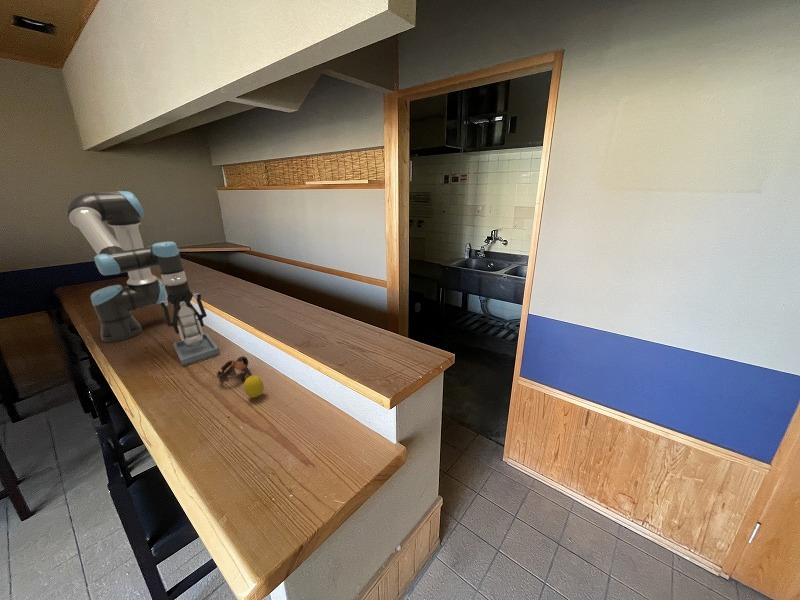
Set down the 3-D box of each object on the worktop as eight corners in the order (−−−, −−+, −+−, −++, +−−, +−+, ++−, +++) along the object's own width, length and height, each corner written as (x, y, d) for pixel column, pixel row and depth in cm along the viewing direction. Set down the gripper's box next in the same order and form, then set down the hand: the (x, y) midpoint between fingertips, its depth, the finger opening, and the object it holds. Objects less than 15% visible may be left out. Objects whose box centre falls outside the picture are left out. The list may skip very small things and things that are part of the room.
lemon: (247, 394, 103) (241, 373, 100) (265, 390, 105) (260, 369, 102) (246, 404, 98) (241, 383, 95) (266, 399, 100) (260, 378, 97)
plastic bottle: (182, 348, 130) (167, 302, 123) (197, 340, 136) (183, 296, 129) (193, 350, 128) (179, 303, 121) (208, 342, 134) (195, 297, 127)
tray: (174, 349, 136) (172, 343, 135) (208, 338, 144) (207, 332, 143) (183, 367, 122) (180, 360, 121) (220, 354, 130) (218, 347, 128)
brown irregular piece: (247, 387, 108) (228, 373, 104) (227, 396, 111) (208, 382, 107) (260, 361, 118) (244, 347, 114) (242, 370, 121) (225, 356, 117)
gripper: (146, 291, 114) (165, 348, 122) (205, 279, 125) (220, 332, 133) (144, 286, 119) (163, 342, 127) (201, 275, 131) (215, 326, 139)
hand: (192, 336), depth 130 cm, fingers closed on plastic bottle, 6 cm apart
